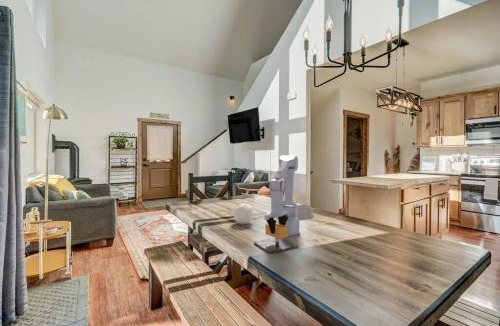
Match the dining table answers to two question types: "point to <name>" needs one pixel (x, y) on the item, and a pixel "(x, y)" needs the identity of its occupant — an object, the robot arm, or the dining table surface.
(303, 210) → the grey stone
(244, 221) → the geodesic sphere
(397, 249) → the dining table surface
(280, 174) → the robot arm
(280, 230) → the orange hollow rectangular block
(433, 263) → the dining table surface
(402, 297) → the dining table surface
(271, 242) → the keeper plate
